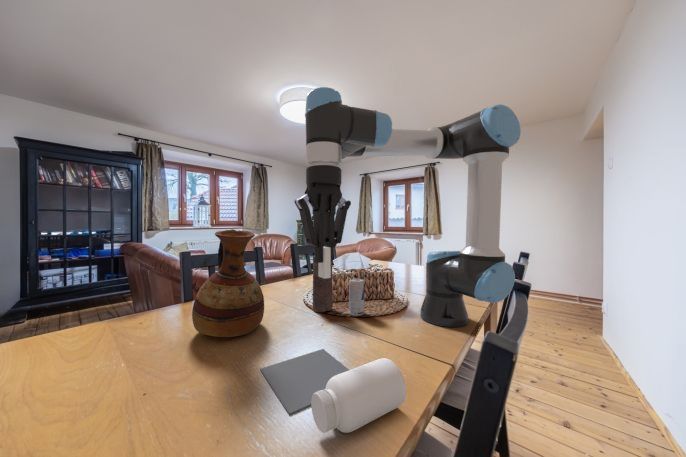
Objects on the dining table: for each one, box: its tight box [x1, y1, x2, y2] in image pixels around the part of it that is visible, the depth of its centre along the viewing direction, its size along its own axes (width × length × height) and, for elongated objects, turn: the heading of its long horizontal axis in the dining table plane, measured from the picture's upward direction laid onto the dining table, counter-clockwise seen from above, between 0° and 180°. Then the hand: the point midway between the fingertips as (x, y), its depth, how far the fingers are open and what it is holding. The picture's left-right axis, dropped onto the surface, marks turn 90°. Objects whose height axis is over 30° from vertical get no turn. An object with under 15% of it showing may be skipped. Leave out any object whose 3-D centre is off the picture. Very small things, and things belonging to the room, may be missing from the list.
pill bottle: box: [310, 357, 407, 434], centre depth 43 cm, size 8×8×15 cm
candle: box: [312, 255, 334, 313], centre depth 96 cm, size 8×7×20 cm
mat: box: [259, 348, 350, 416], centre depth 55 cm, size 16×16×1 cm
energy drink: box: [348, 277, 365, 317], centre depth 92 cm, size 5×5×12 cm
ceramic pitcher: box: [191, 229, 265, 338], centre depth 78 cm, size 20×20×30 cm
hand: (324, 276), depth 56 cm, fingers closed
